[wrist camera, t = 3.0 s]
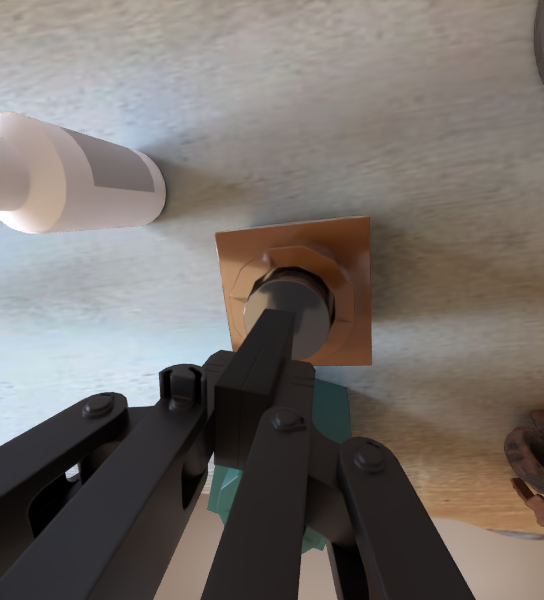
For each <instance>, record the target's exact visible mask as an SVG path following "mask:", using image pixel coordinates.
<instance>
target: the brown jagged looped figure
mask: <svg viewBox="0 0 544 600" xmlns="http://www.w3.org/2000/svg"><path fill="white" fill-rule="evenodd" d="M530 415H531V417H532V418H533V420H534V421H535V425H536V426H537V428H538V430H536V429H534V428H530V427H526V426H521V427H517V428H516V429H515V430H514V431H513V432H511V433H509V434H508V435H507V436H506V439H505V443H504V450H505V454H506V457H507V459H508V462H509V464H510V466H511V467H512V469H513V470H514V472H515V473H516V474H517V475H518V476H519V477H520V478H521V479H520V478H512V479H510V480H511V482H512V485H513V488H514V489H515V490H516V491H517V493H518V495H519V496H520V497H521V498H522V500H523V501H524V502H525V505H526V506H528V507H530V508H531V509H532V510H533V511H534V513H535V515H536V518H537V519H536V520H537V523H538V524H539V525H540V526H543V527H544V497H543V496H542V495H540V494H536V495H534V494H533V493H532V492H531V490H530V489H529V488H528V486H527V485H526V484H525V482H527V483H529V484H530V485H531V487H532V488H533V489H534V490H535V491H537V492H539V493H541V494H544V410H541V411H535V412H531V413H530ZM522 479H523V480H524V481H525V482H524V481H523V480H522Z"/></svg>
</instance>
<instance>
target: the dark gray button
mask: <svg viewBox="0 0 544 600" xmlns="http://www.w3.org/2000/svg"><path fill="white" fill-rule="evenodd" d="M265 308H266V309H275V310H283V311H291V312H296V315H295V326H294V336H293V347H292V357H291V360H298V361H299V360H302V359H305V358H308V357H310V356H311V355H313V354H315V353H316V352H317V351H318V350H319V349H320V348H321V347H322V346H323V344H324V343H325V341H326V339H327V337H328V334H329V329H330V302H329V298H328V295H327V293H326V291H325V289H324V288H323V287H322V285H321V284H320V283H319V282H318V281H317V280H316V279H314V278H313V277H311V276H310V275H308V274H305V273H303V272H299V271H282V272H278V273H276V274H273V275H271V276H270V277H268V278H267V279H266V280H265V281H264V282H263V283H262V284H261V285H260V286H259V287H258V288H257V289H256V290H255V291H254V292H253V293H252V295H251V296H250V297H249V299H248V301H247V303H246V305H245V308H244V314H243V322H244V328H245V331H246V334H247V335H248V333H249V332H250V330H251V329H252V327H253V326H254V324H255V323H256V321H257V320H258V318H259V317H260V315H261V314H262V312H263V311H264V309H265Z"/></svg>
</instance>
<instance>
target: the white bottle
mask: <svg viewBox="0 0 544 600" xmlns="http://www.w3.org/2000/svg"><path fill="white" fill-rule="evenodd" d="M165 198H166V188H165V181H164V179H163V177H162V174H161V172H160V170H159V168H158V167H157V166H156V164H155V163H154V162H153V161H152V159H150V158H149V157H148V156H146V155H145V154H143V153H142V152H139V151H136V150H133V149H129V148H126V147H123V146H120V145H117V144H113V143H110V142H107V141H104V140H101V139H97V138H94V137H91V136H88V135H85V134H82V133H78V132H75V131H72V130H69V129H66V128H62V127H59V126H56V125H53V124H50V123H47V122H43V121H40V120H37V119H34V118H31V117H27V116H24V115H21V114H18V113H14V112H4V113H0V220H1V221H2V222H4V223H5V224H7V225H8V226H9V227H11V228H13V229H16V230H19V231H21V232H24V233H29V234H44V233H57V232H70V231H83V230H96V229H109V228H122V227H134V226H144V225H146V224H149V223H151V222H153V221H154V220H155V219H156V218H157V217H158V216H159V215H160V213H161V211H162V209H163V207H164V205H165Z"/></svg>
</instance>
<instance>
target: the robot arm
mask: <svg viewBox="0 0 544 600" xmlns="http://www.w3.org/2000/svg"><path fill="white" fill-rule="evenodd" d="M534 48H535V56H536V63H537V67H538V70H539V74H540V76H541V79H542V81H543V84H544V0H539V3H538V7H537V12H536V19H535V29H534ZM295 315H296V312H291V311H283V310H275V309H266V308H265V309H264V311H263V312H262V314H261V315H260V317H259V318H258V320H257V321H256V323H255V324H254V326H253V327H252V329H251V330H250V332H249V333H248V335H247V336H246V338H245V340H244V341H243V343H242V344H241V346H240V347H239V349H238V350H237V352H231V351H225V350H220V351H218V352H216V353H214V354H213V355H211V356H210V357H209V358H208V360H207V361H206V362H205V364H203V366H202V367H201V366H197V365H194V364H178V365H173V366H170V367H168V368H165V369H164V370H162V371H161V372H159V383H160V400H159V401H158V402H157V403H156V404H155V406H147V407H128V403H127V399H126V397H125V396H123V395H122V394H120V393H115V392H105V393H100V394H96V395H92V396H90V397H88V398H85V399H83V400H81V401H79V402H78V403H76V404H74V405H72V406H71V407H69V408H67V409H65V410H63V411H62V412H60V413H58V414H56V415H55V416H53V417H51V418H49V419H47V420H46V421H44V422H42V423H40V424H39V425H37V426H35V427H33V428H32V429H30V430H28V431H26V432H24V433H23V434H21V435H19V436H17V437H16V438H14V439H12V440H10V441H9V442H7V443H5V444H3V445H1V446H0V600H153V598H154V596H155V594H156V591H157V589H158V587H159V585H160V583H161V580H162V578H163V576H164V574H165V571H166V569H167V567H168V565H169V563H170V560H171V558H172V556H173V554H174V552H175V549H176V547H177V545H178V543H179V541H180V538H181V536H182V534H183V532H184V529H185V527H186V525H187V523H188V521H189V518H190V516H191V514H192V512H193V509H194V507H195V505H196V503H197V500H198V498H199V496H200V494H201V492H202V489H203V487H204V485H205V483H206V480H207V476H208V462H209V460H210V458H211V456H212V454H213V452H214V465H219V466H223V467H228V468H232V469H237V470H242V471H243V473H242V476H241V479H240V482H239V485H238V488H237V491H236V494H235V497H234V500H233V503H232V506H231V509H230V512H229V515H228V518H227V521H226V524H225V527H224V531H223V533H222V536H221V540H220V542H219V545H218V548H217V551H216V554H215V557H214V561H213V563H212V566H211V569H210V572H209V575H208V578H207V582H206V585H205V588H204V590H203V594H202V596H201V600H298V589H299V577H300V564H301V553H302V540H303V528H304V525H306V526H307V527H309V528H310V529H312V530H314V531H315V532H317V533H318V534H320V535H321V536H323V537H325V539H326V546H327V551H328V555H329V560H330V565H331V570H332V575H333V580H334V585H335V589H336V595H337V599H338V600H476V599H475V597H474V596H473V594H472V592H471V590H470V588H469V587H468V585H467V583H466V581H465V580H464V578H463V576H462V574H461V572H460V570H459V569H458V567H457V565H456V563H455V562H454V560H453V558H452V556H451V554H450V553H449V551H448V549H447V547H446V545H445V544H444V542H443V540H442V538H441V537H440V535H439V533H438V531H437V529H436V527H435V526H434V524H433V522H432V520H431V518H430V517H429V515H428V513H427V511H426V510H425V508H424V506H423V504H422V502H421V501H420V499H419V497H418V495H417V493H416V492H415V490H414V488H413V486H412V484H411V483H410V481H409V479H408V477H407V475H406V474H405V472H404V470H403V468H402V466H401V465H400V463H399V461H398V459H397V458H396V457H395V456H394V454H393V453H392V452H391V450H389V449H388V448H387V447H385V446H384V445H383V444H381V443H379V442H377V441H375V440H372V439H370V438H364V437H354V438H349V439H347V440H346V441H344V442H343V443H342V444H339V443H337V442H335V441H333V440H331V439H329V438H327V437H326V436H324V435H323V434H322V433H321V432H319V431H318V429H317V428H316V427H315V425H314V423H313V421H312V408H313V396H314V383H315V371H316V370H315V369H314V367H313V366H312V364H311V362H304V361H298V360H291V357H292V347H293V336H294V326H295ZM76 464H77V465H78V470H79V473H78V474H76V475H74V476H73V477H71V478H66V474H65V472H66V471H68V470H69V469H70V468H72V467H73V466H74V465H76Z"/></svg>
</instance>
